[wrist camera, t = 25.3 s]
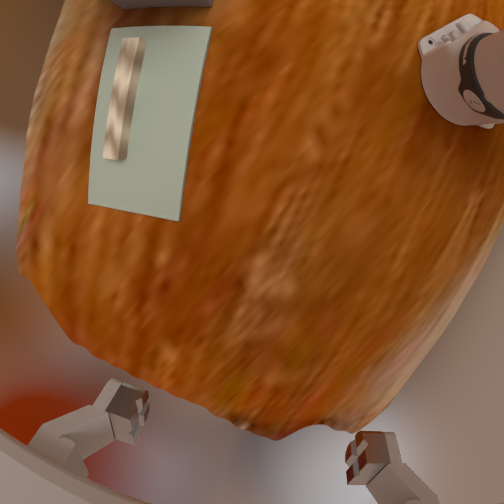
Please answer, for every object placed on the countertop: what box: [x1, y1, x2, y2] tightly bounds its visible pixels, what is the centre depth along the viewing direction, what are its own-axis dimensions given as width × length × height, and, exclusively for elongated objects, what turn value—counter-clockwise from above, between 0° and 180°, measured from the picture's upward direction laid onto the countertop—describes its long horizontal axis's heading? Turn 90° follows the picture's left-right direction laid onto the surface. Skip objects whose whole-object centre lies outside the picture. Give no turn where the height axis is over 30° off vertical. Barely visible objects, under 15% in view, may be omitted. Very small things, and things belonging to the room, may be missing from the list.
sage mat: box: [88, 26, 213, 221], centre depth 46 cm, size 32×18×1 cm, turn 170°
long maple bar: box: [103, 37, 147, 160], centre depth 43 cm, size 20×3×3 cm
